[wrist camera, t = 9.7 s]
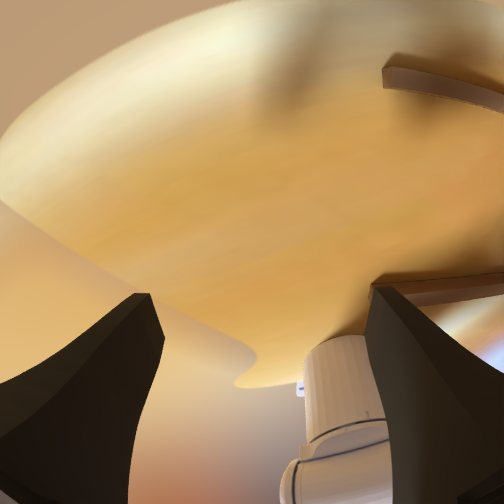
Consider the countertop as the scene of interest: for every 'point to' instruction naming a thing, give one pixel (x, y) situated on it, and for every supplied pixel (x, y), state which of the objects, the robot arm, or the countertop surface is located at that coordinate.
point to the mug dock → (467, 93)
